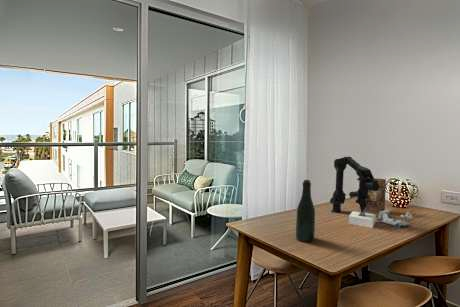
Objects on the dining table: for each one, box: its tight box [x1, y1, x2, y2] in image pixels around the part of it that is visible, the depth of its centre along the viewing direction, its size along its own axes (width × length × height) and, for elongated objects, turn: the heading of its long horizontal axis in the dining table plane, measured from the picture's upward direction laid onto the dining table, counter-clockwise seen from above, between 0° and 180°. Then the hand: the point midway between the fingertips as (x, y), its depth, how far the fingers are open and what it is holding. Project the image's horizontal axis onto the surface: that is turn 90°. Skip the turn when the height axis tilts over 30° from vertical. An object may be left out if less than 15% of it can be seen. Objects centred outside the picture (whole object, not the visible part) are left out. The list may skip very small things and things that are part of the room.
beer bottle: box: [294, 179, 316, 243], centre depth 155 cm, size 10×10×33 cm
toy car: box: [375, 209, 413, 229], centre depth 183 cm, size 18×10×12 cm
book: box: [365, 178, 387, 214], centre depth 211 cm, size 16×6×25 cm, turn 58°
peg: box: [359, 208, 366, 217], centre depth 184 cm, size 3×3×10 cm
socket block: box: [348, 210, 376, 229], centre depth 185 cm, size 14×14×5 cm
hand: (362, 211), depth 184 cm, fingers closed on peg, 3 cm apart
